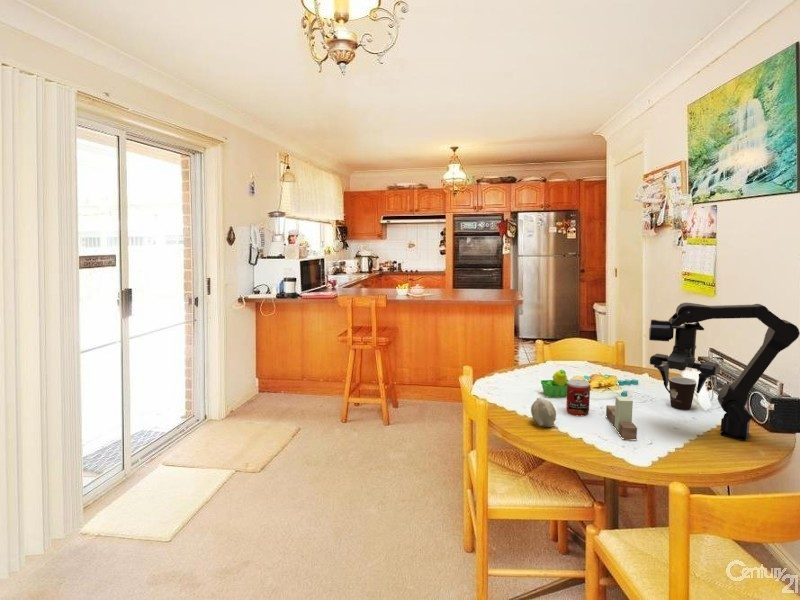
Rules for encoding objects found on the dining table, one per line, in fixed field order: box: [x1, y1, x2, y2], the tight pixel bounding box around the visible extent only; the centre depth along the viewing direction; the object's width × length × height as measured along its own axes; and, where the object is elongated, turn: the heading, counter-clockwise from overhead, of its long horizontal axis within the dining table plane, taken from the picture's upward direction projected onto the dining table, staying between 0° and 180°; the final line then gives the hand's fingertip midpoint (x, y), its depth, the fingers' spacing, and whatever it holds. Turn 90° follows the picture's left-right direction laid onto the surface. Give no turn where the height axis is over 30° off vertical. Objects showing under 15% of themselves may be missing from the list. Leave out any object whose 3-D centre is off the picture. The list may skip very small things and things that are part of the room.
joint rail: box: [605, 405, 638, 440], centre depth 156 cm, size 19×4×4 cm, turn 171°
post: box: [614, 396, 634, 431], centre depth 153 cm, size 4×4×10 cm
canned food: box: [566, 378, 591, 417], centre depth 170 cm, size 8×8×11 cm
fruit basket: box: [540, 369, 570, 398], centre depth 188 cm, size 11×9×11 cm
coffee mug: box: [663, 376, 697, 411], centre depth 174 cm, size 12×9×10 cm
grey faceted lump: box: [530, 397, 557, 428], centre depth 160 cm, size 9×8×10 cm
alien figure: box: [582, 374, 639, 397], centre depth 199 cm, size 20×2×20 cm
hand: (681, 389), depth 154 cm, fingers open, 9 cm apart
